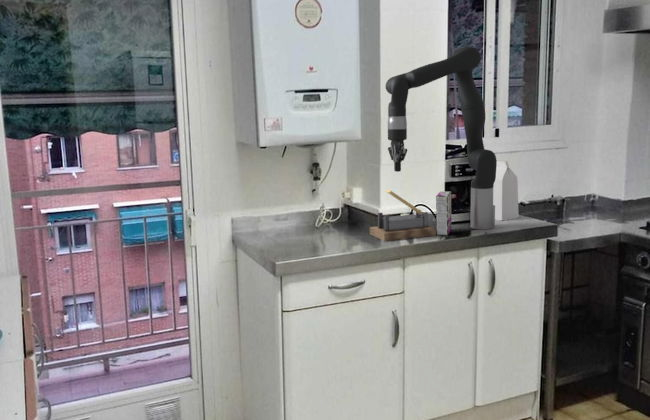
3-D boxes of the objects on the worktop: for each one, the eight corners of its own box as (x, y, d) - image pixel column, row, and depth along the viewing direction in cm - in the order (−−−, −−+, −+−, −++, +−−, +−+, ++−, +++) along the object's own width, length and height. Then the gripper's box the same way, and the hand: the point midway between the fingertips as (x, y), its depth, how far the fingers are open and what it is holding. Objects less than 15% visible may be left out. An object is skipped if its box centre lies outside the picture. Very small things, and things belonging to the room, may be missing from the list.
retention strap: (419, 215, 252) (421, 212, 252) (424, 217, 249) (426, 213, 249) (385, 192, 245) (387, 188, 245) (389, 193, 242) (391, 190, 242)
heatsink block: (419, 223, 255) (419, 208, 254) (428, 227, 248) (428, 211, 247) (377, 228, 249) (377, 212, 248) (386, 231, 241) (385, 215, 240)
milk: (481, 217, 280) (481, 161, 275) (497, 214, 286) (498, 159, 282) (501, 221, 270) (503, 162, 266) (518, 217, 277) (520, 160, 272)
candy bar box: (439, 229, 257) (439, 191, 254) (451, 230, 255) (451, 191, 252) (435, 235, 246) (435, 195, 243) (447, 235, 245) (448, 195, 242)
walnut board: (419, 228, 259) (419, 221, 258) (435, 235, 246) (435, 227, 245) (369, 234, 251) (369, 227, 251) (384, 241, 238) (384, 233, 238)
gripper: (413, 128, 235) (413, 172, 239) (398, 127, 248) (398, 169, 251) (396, 128, 233) (396, 173, 236) (381, 127, 245) (382, 170, 248)
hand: (397, 171), depth 243 cm, fingers closed
